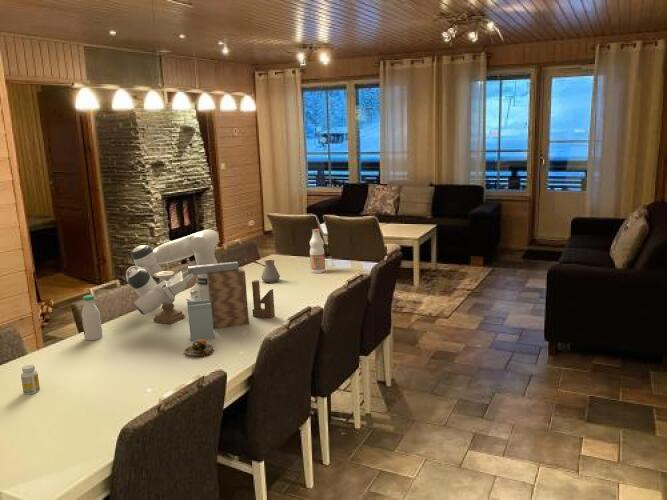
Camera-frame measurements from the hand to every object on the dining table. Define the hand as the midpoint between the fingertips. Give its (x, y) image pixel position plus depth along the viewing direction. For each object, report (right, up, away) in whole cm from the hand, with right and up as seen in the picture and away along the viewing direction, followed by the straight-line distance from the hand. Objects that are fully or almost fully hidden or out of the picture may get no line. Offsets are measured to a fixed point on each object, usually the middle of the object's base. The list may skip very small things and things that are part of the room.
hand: (192, 272), depth 263 cm
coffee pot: (+22, -9, +88) cm, 91 cm away
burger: (+9, -33, -26) cm, 43 cm away
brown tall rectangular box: (+15, -25, +10) cm, 31 cm away
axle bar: (+9, 0, +3) cm, 10 cm away
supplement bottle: (-44, -41, -57) cm, 83 cm away
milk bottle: (-45, -30, -2) cm, 54 cm away
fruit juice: (+55, -4, +106) cm, 120 cm away
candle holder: (-17, -25, +20) cm, 36 cm away
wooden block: (+31, -23, +18) cm, 43 cm away
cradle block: (+6, -29, -7) cm, 30 cm away
